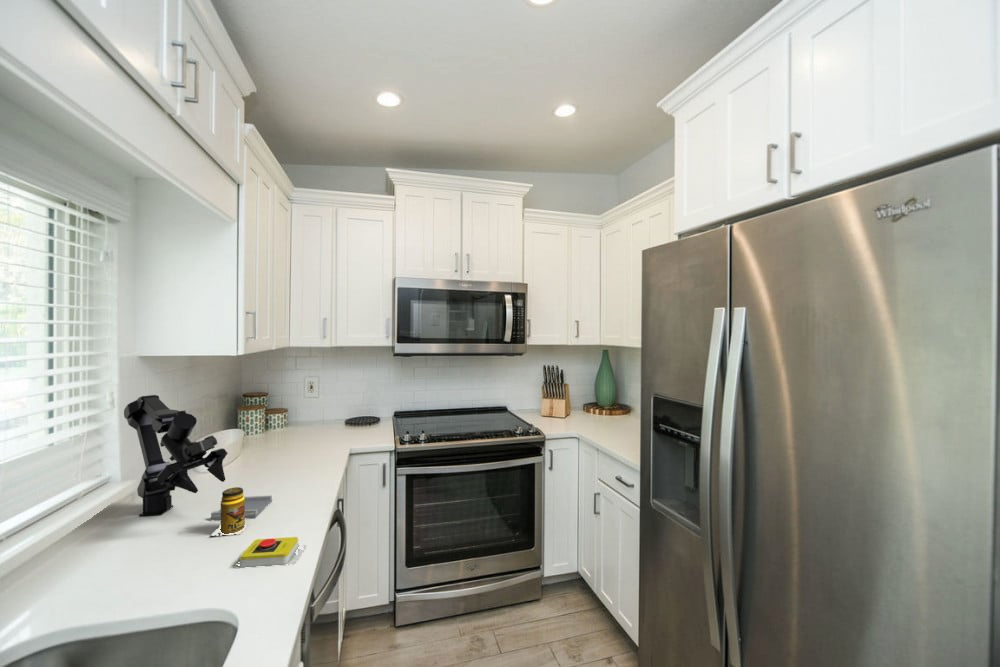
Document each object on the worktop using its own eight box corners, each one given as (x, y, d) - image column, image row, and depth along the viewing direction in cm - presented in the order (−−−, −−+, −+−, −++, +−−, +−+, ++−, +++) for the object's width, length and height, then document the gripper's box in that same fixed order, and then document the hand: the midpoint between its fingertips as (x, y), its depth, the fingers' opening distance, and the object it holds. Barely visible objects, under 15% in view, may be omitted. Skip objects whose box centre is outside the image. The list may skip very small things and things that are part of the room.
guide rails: (211, 517, 129) (211, 513, 129) (231, 501, 141) (231, 497, 141) (255, 514, 130) (255, 510, 130) (271, 498, 143) (271, 495, 143)
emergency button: (249, 534, 112) (307, 531, 114) (249, 551, 112) (307, 547, 114) (231, 553, 102) (295, 548, 104) (231, 570, 102) (295, 566, 104)
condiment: (240, 534, 120) (240, 493, 120) (207, 538, 118) (207, 496, 118) (250, 523, 127) (250, 484, 127) (219, 526, 125) (219, 486, 125)
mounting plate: (210, 520, 128) (210, 516, 128) (231, 503, 141) (231, 500, 141) (255, 518, 130) (255, 514, 130) (272, 501, 143) (272, 497, 143)
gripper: (165, 437, 115) (197, 479, 113) (222, 423, 134) (251, 459, 131) (142, 463, 117) (174, 505, 115) (202, 446, 135) (231, 482, 133)
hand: (210, 486), depth 123 cm, fingers open, 9 cm apart
